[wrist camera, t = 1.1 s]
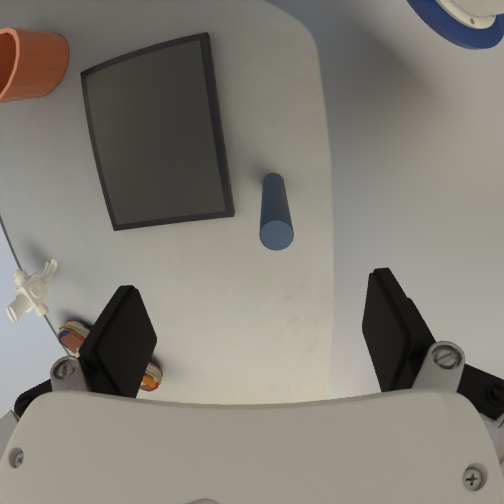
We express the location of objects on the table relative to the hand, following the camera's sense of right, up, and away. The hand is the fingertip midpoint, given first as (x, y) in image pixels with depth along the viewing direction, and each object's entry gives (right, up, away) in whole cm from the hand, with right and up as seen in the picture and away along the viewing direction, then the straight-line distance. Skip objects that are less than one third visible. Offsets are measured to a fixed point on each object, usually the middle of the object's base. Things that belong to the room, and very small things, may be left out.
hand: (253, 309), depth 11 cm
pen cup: (-26, +26, +12) cm, 38 cm away
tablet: (-11, +15, +17) cm, 25 cm away
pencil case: (-24, -14, +34) cm, 44 cm away
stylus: (+2, +9, +19) cm, 21 cm away
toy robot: (-31, 0, +26) cm, 40 cm away
